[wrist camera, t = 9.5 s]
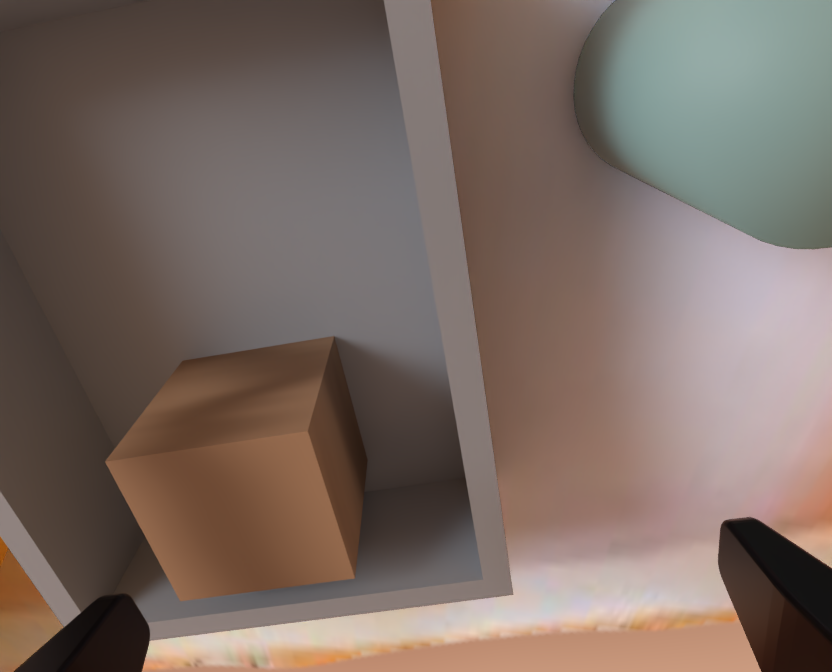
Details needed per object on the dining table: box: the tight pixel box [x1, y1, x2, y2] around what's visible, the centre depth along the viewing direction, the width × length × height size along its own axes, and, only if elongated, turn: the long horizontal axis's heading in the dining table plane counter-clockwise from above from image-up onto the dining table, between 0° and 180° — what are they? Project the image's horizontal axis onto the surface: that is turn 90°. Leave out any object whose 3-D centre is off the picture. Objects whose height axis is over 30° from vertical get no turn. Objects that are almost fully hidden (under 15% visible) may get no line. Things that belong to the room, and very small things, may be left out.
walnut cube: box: [105, 336, 368, 601], centre depth 16 cm, size 5×5×5 cm
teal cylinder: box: [574, 0, 832, 249], centre depth 12 cm, size 5×5×7 cm
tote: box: [0, 0, 513, 641], centre depth 15 cm, size 14×18×5 cm
